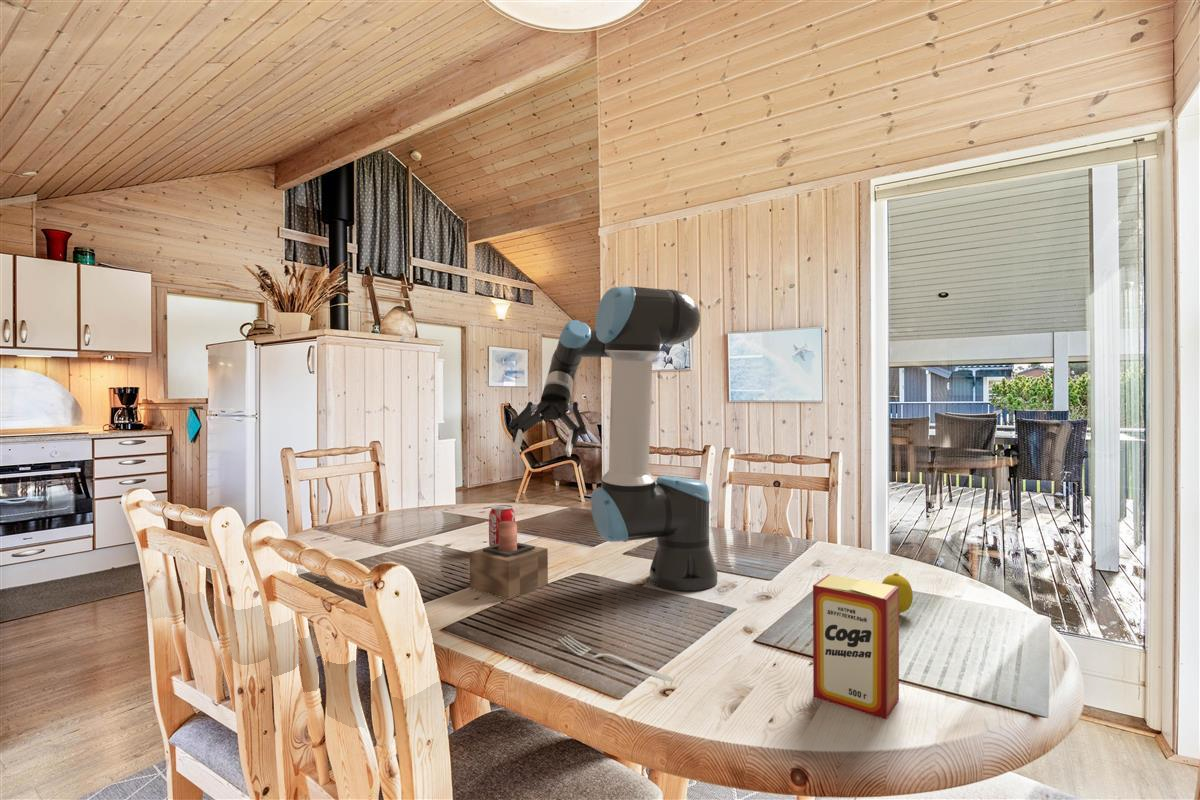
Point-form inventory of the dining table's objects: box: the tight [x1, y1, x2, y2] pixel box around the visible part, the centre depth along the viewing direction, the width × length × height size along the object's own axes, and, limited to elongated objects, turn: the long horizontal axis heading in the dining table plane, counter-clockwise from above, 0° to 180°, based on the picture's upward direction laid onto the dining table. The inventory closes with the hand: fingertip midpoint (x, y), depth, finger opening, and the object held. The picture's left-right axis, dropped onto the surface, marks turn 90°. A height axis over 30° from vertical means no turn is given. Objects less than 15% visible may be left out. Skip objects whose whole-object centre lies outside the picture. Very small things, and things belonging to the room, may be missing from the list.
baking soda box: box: [812, 573, 900, 720], centre depth 84 cm, size 10×6×16 cm
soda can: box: [488, 504, 516, 547], centre depth 163 cm, size 7×7×12 cm
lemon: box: [881, 572, 914, 615], centre depth 115 cm, size 6×6×8 cm
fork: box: [557, 634, 676, 682], centre depth 95 cm, size 3×24×2 cm, turn 53°
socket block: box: [469, 542, 549, 600], centre depth 133 cm, size 12×12×9 cm
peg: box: [499, 520, 518, 552], centre depth 133 cm, size 4×4×14 cm
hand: (541, 453), depth 150 cm, fingers open, 13 cm apart
